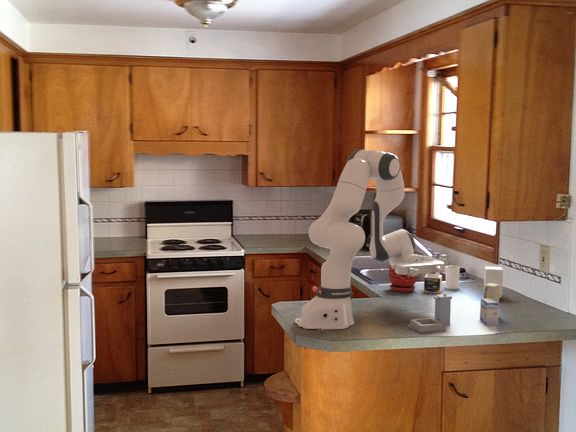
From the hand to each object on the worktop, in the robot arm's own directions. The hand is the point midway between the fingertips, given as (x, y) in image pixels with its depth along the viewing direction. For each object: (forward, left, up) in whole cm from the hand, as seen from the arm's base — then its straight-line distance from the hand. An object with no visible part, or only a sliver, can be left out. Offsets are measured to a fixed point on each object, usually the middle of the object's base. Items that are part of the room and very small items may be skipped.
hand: (428, 271), depth 277 cm
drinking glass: (+36, +45, -18) cm, 60 cm away
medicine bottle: (+24, +41, -18) cm, 51 cm away
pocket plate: (-9, -16, -18) cm, 26 cm away
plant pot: (+12, +47, -18) cm, 52 cm away
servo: (0, -12, -18) cm, 22 cm away
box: (+24, -7, -18) cm, 31 cm away
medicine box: (+18, -15, -18) cm, 30 cm away
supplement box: (+45, +25, -18) cm, 54 cm away
